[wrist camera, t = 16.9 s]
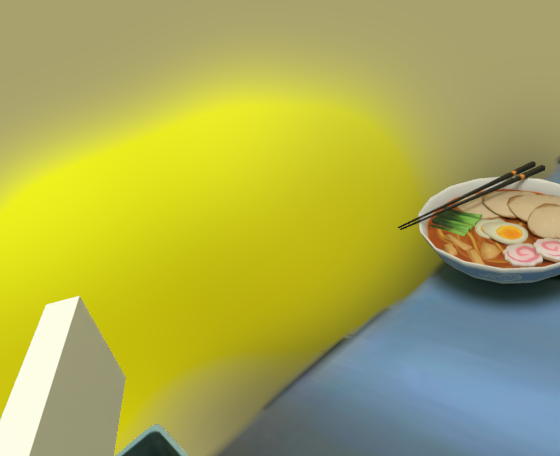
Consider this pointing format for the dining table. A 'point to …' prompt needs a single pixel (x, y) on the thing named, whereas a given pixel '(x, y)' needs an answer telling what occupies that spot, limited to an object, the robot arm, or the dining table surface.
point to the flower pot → (153, 444)
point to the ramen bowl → (497, 227)
